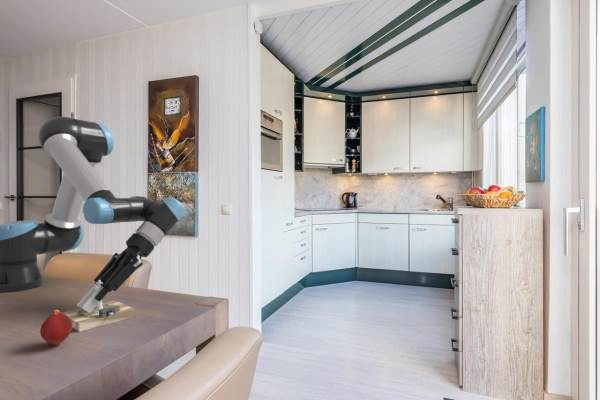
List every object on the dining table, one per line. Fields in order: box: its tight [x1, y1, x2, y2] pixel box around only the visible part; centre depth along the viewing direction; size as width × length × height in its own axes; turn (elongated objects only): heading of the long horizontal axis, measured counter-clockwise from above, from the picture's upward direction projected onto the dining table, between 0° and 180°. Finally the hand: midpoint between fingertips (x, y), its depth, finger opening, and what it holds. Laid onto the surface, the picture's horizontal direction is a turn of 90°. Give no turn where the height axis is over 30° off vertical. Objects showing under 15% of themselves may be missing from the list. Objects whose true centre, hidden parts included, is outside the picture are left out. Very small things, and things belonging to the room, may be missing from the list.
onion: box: [39, 309, 73, 346], centre depth 76 cm, size 6×6×8 cm
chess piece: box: [90, 280, 103, 315], centre depth 92 cm, size 5×5×10 cm
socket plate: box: [62, 300, 137, 333], centre depth 92 cm, size 12×14×4 cm
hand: (83, 308), depth 89 cm, fingers closed on chess piece, 2 cm apart
